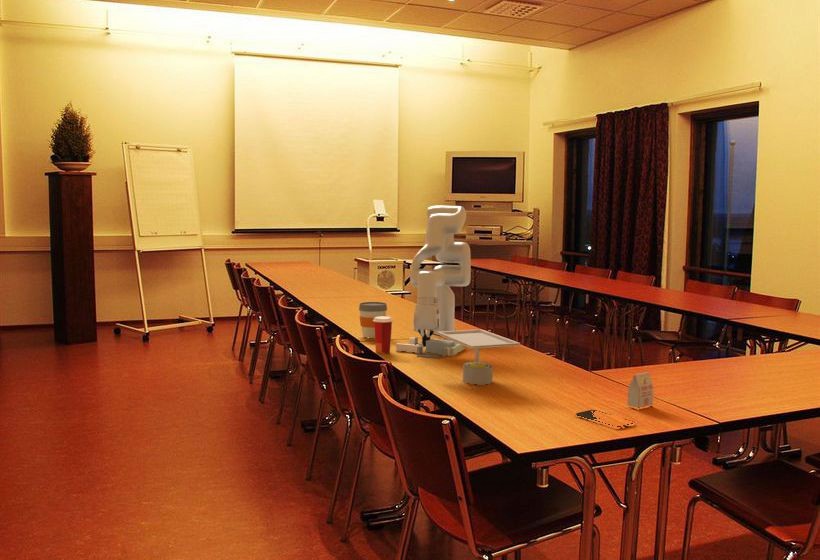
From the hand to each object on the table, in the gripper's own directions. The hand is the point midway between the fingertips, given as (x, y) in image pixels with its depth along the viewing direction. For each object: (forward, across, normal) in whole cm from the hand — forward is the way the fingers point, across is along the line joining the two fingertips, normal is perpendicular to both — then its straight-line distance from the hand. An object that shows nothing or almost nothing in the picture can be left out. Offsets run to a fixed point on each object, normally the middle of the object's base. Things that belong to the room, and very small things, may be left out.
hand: (426, 346), depth 291 cm
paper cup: (+2, +14, +12) cm, 19 cm away
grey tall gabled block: (+2, -87, +54) cm, 103 cm away
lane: (+2, -2, 0) cm, 2 cm away
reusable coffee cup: (+2, +32, -18) cm, 37 cm away
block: (+2, -7, +2) cm, 8 cm away
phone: (+3, -79, +72) cm, 107 cm away
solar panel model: (+2, -34, +44) cm, 55 cm away
